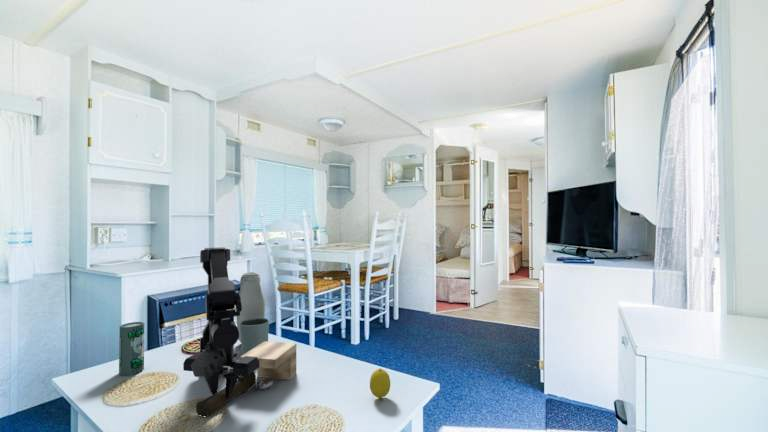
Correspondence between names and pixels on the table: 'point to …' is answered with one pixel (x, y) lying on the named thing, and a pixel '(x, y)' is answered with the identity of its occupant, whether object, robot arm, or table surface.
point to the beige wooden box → (275, 359)
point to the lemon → (380, 383)
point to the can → (131, 348)
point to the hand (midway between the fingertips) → (221, 396)
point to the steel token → (264, 384)
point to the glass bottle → (250, 299)
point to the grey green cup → (253, 333)
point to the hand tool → (220, 397)
